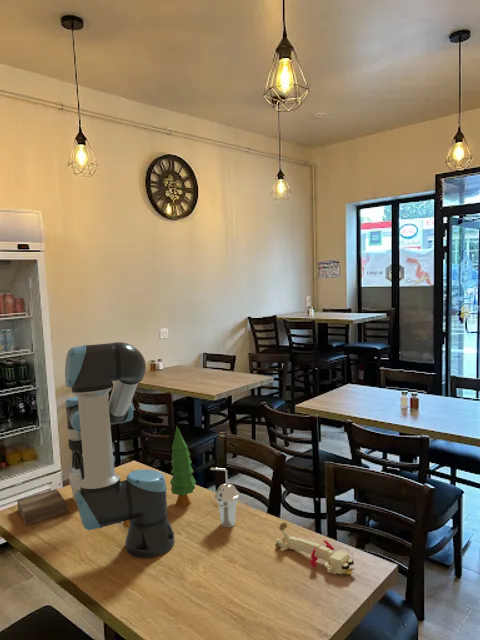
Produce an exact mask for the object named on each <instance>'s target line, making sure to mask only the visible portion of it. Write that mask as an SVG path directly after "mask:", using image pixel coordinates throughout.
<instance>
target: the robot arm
mask: <svg viewBox="0 0 480 640" xmlns="http://www.w3.org/2000/svg"><path fill="white" fill-rule="evenodd" d="M146 371H147V363H146V359H145V357H144V356H143V354H142V353H141V351H139V349H137V348H136V347H135V346H133V344H129V343H127V342H121V341H119V342H111V343H110V342H109V343H108V342H107V343H97V344H86V345H85V344H84V345H80V346H74V347H71V348H70V349H68V351H67V353H66V358H65V368H64V378H65V380H64V381H65V387H66V388H71V394H72V395H74V396H71V397H68V398H67V399H66V400H65V412H66V423H67V438H68V449H69V450H70V451H71V468H73V467H75V469H76V470H77V469H80V471H81V476H82V482H81V483H80V490H78V491H77V492H76V493H75V496H76V502H75V503H76V505H77V510H78V513H79V517H80V520H81V523H82V526H83V528H84V529H85V530H86V531H93V530H96V529H97V530H98V529H102V528H105V527H110V526H113V525H117V524H120V523H124V522H127V521H129V527H128V530H127V534H126V538H125V551H126V552H127V553H128V555H129V556H132V557H134V558H137V559H150V558H155V557H160V556H162V555H164V554H166V553H168V552H169V551H170V550H171V549H173V547H174V546H175V533H174V531H173V528H172V525H171V523H170V521H169V518H168V503H167V502H168V501H167V490H168V489H167V485H166V484H167V483H166V478H165V476H164V474H162V473H161V472H159V471H157V470H153V469H144V468H143V469H142V468H141V469H136V470H132V471H130V472H129V473H128V474H127V476H126V479H124V480H121V476H120V475H119V474H118V473H116V472H115V464H114V453H113V443H112V442H113V439H112V430H111V425H117V424H125V423H127V422H130V421H132V420H133V419H134V408H133V405H132V400H133V398H134V395H135V393H136V390H137V388H138V387H137V386H138V384H139V383H141V381H142V380H143V379H144V377H145V374H146ZM113 382H114V383H113ZM109 392H111V394H110V398H109Z"/></svg>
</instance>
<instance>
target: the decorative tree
mask: <svg viewBox="0 0 480 640" xmlns="http://www.w3.org/2000/svg"><path fill="white" fill-rule="evenodd" d="M188 447H189V446H188V445H187V443H186V441H185V439H184V438H183V436H182V433H181V431H180V428H179V427H178V426H176V427H175V434H174V439H173V442H172V445H171V450H172V452H171V459H172V460H171V466H172V469H171V471H170V474H173V475H172V477H171V480H170V486H171V488H170V491H171V494H173V495H177V499H176V502H175V506H177V507H180V508H185V507H187V506H189V505H192V501H191V499H190V498H189V496H188V494H192V493H194V490H195V489H196V486H195V484H196V483H197V481H196V479H195V477H194V476H193V473H194V469H193V467H192V465H191V464H192V462H193V461H192V460H191V457H190V456H191V452H190V451H189V449H188Z"/></svg>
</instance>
